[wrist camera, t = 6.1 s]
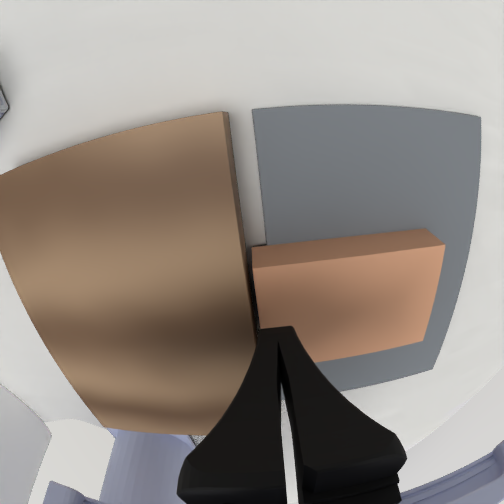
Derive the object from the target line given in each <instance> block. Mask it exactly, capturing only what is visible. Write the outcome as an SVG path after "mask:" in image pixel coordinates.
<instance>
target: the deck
mask: <svg viewBox="0 0 504 504" xmlns="http://www.w3.org/2000/svg"><path fill="white" fill-rule="evenodd" d="M0 252H1V255H2V257H3V260H4V262H5V265H6V267H7V270H8V272H9V275H10V277H11V279H12V282H13V284H14V286H15V288H16V290H17V293H18V295H19V297H20V299H21V301H22V303H23V305H24V307H25V309H26V311H27V313H28V315H29V317H30V319H31V321H32V323H33V324H34V326H35V328H36V330H37V332H38V333H39V335H40V337H41V339H42V340H43V342H44V344H45V346H46V347H47V349H48V350H49V352H50V354H51V355H52V357H53V359H54V360H55V362H56V363H57V365H58V366H59V368H60V369H61V371H62V372H63V374H64V375H65V377H66V378H67V380H68V381H69V383H70V384H71V385H72V387H73V388H74V390H75V391H76V392H77V394H78V395H79V396H80V398H81V399H82V400H83V402H84V403H85V404H86V406H87V407H88V408H89V409H90V411H91V412H92V413H93V414H94V416H95V417H96V418H97V419H98V420H99V422H100V423H101V424H102V425H103V426H104V427H106V428H112V429H119V430H127V431H136V432H146V433H158V434H174V435H208V434H209V432H210V431H211V430H212V429H213V428H214V426H215V425H216V424H217V423H218V421H219V420H220V419H221V417H222V416H223V414H224V413H225V411H226V410H227V408H228V407H229V405H230V404H231V402H232V401H233V399H234V397H235V395H236V394H237V392H238V390H239V388H240V386H241V384H242V382H243V380H244V377H245V375H246V373H247V371H248V368H249V366H250V363H251V360H252V357H253V355H254V351H255V348H256V344H257V340H258V334H257V327H256V320H255V313H254V305H253V298H252V291H251V283H250V276H249V269H248V261H247V254H246V246H245V239H244V231H243V224H242V216H241V209H240V201H239V194H238V186H237V178H236V171H235V163H234V155H233V148H232V140H231V132H230V124H229V116H228V113H227V112H216V113H209V114H203V115H197V116H191V117H185V118H180V119H175V120H170V121H165V122H160V123H156V124H151V125H147V126H143V127H138V128H134V129H130V130H126V131H123V132H119V133H115V134H112V135H108V136H105V137H101V138H98V139H94V140H91V141H88V142H85V143H82V144H78V145H75V146H72V147H69V148H67V149H64V150H61V151H58V152H55V153H53V154H50V155H47V156H44V157H42V158H39V159H37V160H34V161H32V162H29V163H27V164H24V165H22V166H20V167H17V168H15V169H13V170H10V171H8V172H6V173H4V174H2V175H0Z"/></svg>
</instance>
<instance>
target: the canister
mask: <svg viewBox="0 0 504 504" xmlns="http://www.w3.org/2000/svg"><path fill="white" fill-rule="evenodd" d="M51 436H52V435H51V432H50V430H49V429H48V427H47V426H46V425H45V423H44V422H43V421H42V420H41V419H40V418H39V417H38V416H37V415H36V414H35V413H34V412H33V411H32V410H31V409H30V408H29V407H28V406H27V405H26V404H24V403H23V402H22V401H21V400H20V399H19V398H17V397H16V396H15V395H14V394H12V393H11V392H10V391H9V390H7V389H6V388H5V387H3V386H2V385H1V384H0V504H28V501H29V498H30V495H31V491H32V488H33V485H34V483H35V480H36V477H37V474H38V471H39V468H40V466H41V463H42V460H43V457H44V455H45V452H46V450H47V447H48V445H49V442H50V440H51Z"/></svg>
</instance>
